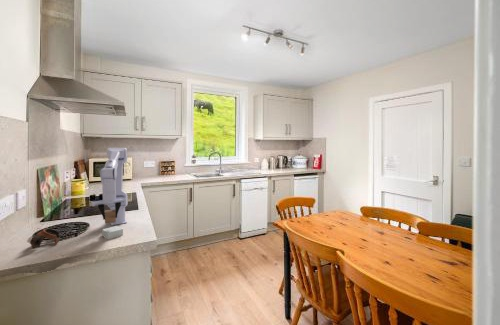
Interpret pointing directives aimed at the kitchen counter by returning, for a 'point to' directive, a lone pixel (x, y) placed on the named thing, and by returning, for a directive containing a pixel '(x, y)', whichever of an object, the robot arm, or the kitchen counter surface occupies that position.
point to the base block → (112, 232)
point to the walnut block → (110, 216)
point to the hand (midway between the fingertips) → (110, 218)
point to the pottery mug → (46, 232)
